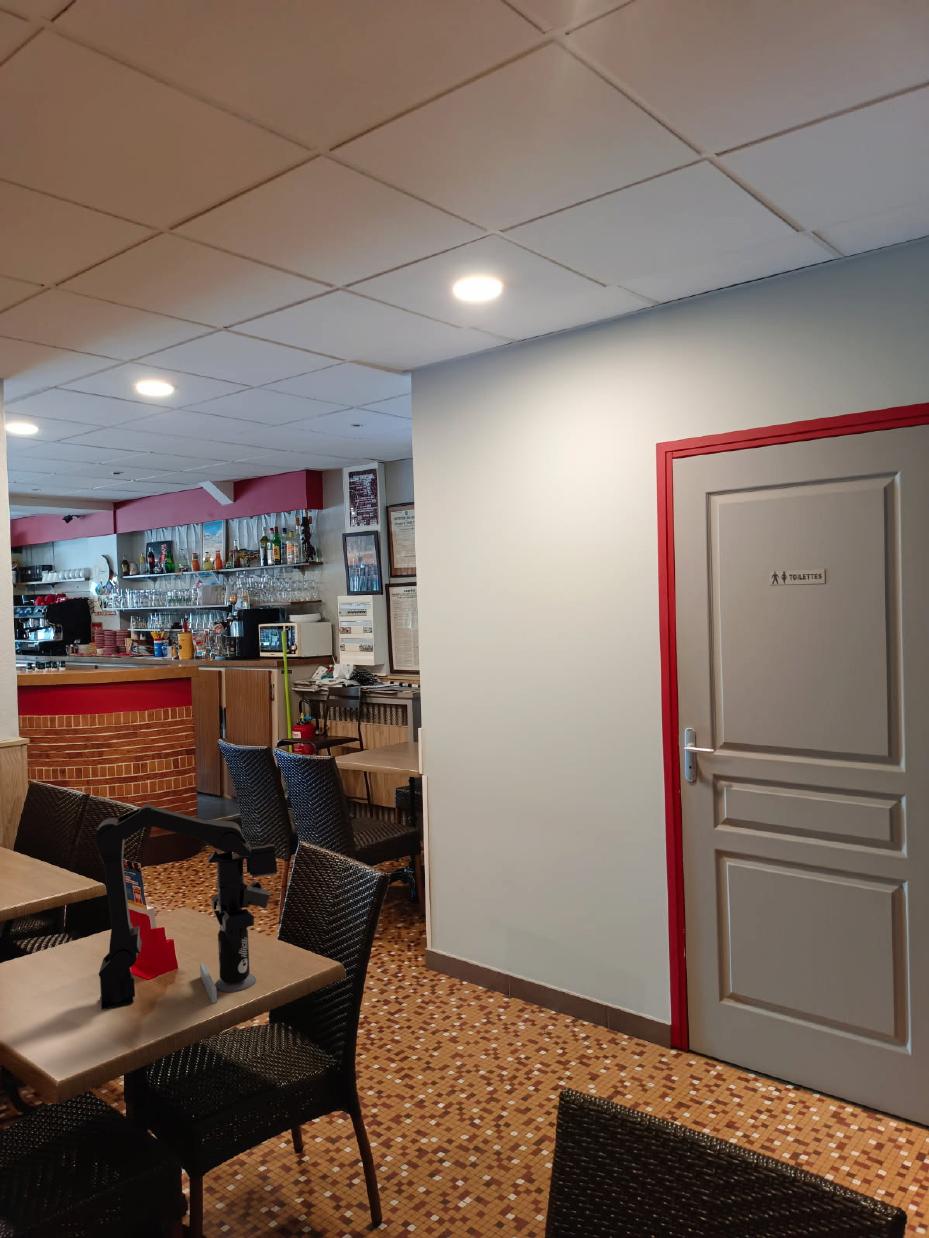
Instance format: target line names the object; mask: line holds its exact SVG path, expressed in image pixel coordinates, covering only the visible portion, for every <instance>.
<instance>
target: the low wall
mask: <svg viewBox="0 0 929 1238" xmlns="http://www.w3.org/2000/svg"><path fill="white" fill-rule="evenodd" d="M199 970H200V972H199V973H200V978H201V981H202V982H203V986H204V985H205V986H204V987H205V990H206V993H207V995H208V997H209V998H210V1001H211V1003H212V1004H217V1003H218V994H217V991H218V990H217V989H216V986H215V982H214V981H213V978H212V976H211V974H210V972H209V970H208V967H207V965H206V964H205V962H203V963H200V964H199Z"/></svg>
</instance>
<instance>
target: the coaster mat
mask: <svg viewBox="0 0 929 1238" xmlns="http://www.w3.org/2000/svg"><path fill="white" fill-rule="evenodd" d="M256 982H257V977H256V976H255V975H254V974H250V973H249V975H248V976H247V978H246V979H245V980H243V981H241V982H237V983H226V982H223V981H222V979H220V978H219V979H218V980H216V981H215V982H214V984H215V986H216V989H217V991H219V992H224V993H234V992H233V991H235V992H240V991H239V990H241V991H243V990H242V989H244V990H247V989H249V988H251V987H252V985H253V986H254V985H255V984H256ZM250 986H251V987H250ZM246 988H247V989H246Z"/></svg>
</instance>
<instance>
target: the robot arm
mask: <svg viewBox="0 0 929 1238" xmlns="http://www.w3.org/2000/svg"><path fill="white" fill-rule="evenodd" d="M147 826H148V827H149V826H150V827H154V828H157V829H161V830H164V831H169V832H172V833H175V834H179V835H183V836H186V837H191V838H195V839H198V840H200V841H202V842H204V843H206V844H207V845H209V846H210V847H212V848H215V849H214V850H213V852H212V853H211V854H210V855H209V856H208V863H209V864H214V863H216V868H217V869H216V871H217V873H216V874H217V875H216V876H217V882H216V884H215V885H216V889H217V891H218V892H217V893H216V894H214V895H213V896H212V898H211V900H210V901H211V908H212V910H213V913H214V915H215V918H216V920H217V922H218V925H219V927H220V926H221V925H222V924H223V925H222V927H223V929H224V931H225V934H226V936H227V938H228V940H229V943H230V945H231V947H232V950H233V952H234V953H239V950H240V946H241V941H242V937H243V933H244V930H245V929H246V928H247V929H248V928H249V927H254V926H255V916H254V915H253V913H252V912H251V911H250V910H249V909H247V908H249V905H250V906H254V907H255V906H256V907H260V908H262V909H267V908H268V904H269V901H270V897H271V893H270V892H269V890H267V889H265V888H264V887H263V888H262V884H261V882H260V881H256V880H254V881H252V882H251V883H250V884H249V885H248V884H246V883H245V880H244V879H245V877H244V875H245V874H244V860H245V869H246V874H249V876H251V877H252V878H256V877H264V876H266V877H267V876H273V875H274V876H275V875H277V874H278V864H277V863H278V862H277V859H276V848H275V847H276V846H275V844H274V843H270V844H269V843H268V844H266V845H260V846H257V845H256V846H251V845H250V842H249V841H247V840H246V838H245V837H243V833H242V829H241V826H240V825H239V824H238V823H237V822H234V821H230V820H219V819H217V820H214V819H213V820H206V819H201V818H198V817H194V816H190V815H186V814H183V813H179V812H175V811H172V810H167V809H164V808H161V807H156V805H155V806H154V805H153V804H150V803H146V804H144V805H141V807H138V808H137V809H134V810H132V811H129V812H127V813H125V814H123V815H120V816H119V817H117V818H115V817H109V818H106V819H105V820H103V821H102V822H101V823H100V824H99V825H98V827H97V830H96V832H95V833H94V834H95V835H94V842H95V846H96V848H97V853H98V855H99V858H100V859H101V862H102V863H103V868H104V873H105V874H104V875H105V882H106V884H105V885H106V892H107V900H108V909H109V920H110V925H111V926H110V927H111V928H110V929H111V930H110V940H109V948H108V949H109V950H108V953H107V954H106V955H105V956H104V957H103V959H102V960H101V964H100V969H99V972H98V976H99V986H100V987H99V988H100V991H99V992H100V997H99V1000H100V1002H99V1003H100V1007H101V1010H107V1009H112V1008H116V1007H121V1006H125V1005H129V1004H133V1003H134V1002H135V1001H134V998H135V997H136V989H135V988H136V987H135V977H134V974H132V970H131V968H132V967H133V966H134V965H135V964H136V962H137V959H138V955H139V954H140V953H141V950H142V948H141V947H142V943H143V942H142V939H141V936H140V925H137V926H133V923H132V922H131V918H130V910H129V900H128V892H127V884H126V875H125V874H126V873H125V865H124V851H125V843H126V841H125V839H128V838H129V837H131V836H133V835H134V834H136V833H138V832H139V831H140V830H142V829H144V828H146V827H147ZM220 851H221V852H220ZM233 853H234V854H233Z"/></svg>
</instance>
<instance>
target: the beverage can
mask: <svg viewBox="0 0 929 1238" xmlns="http://www.w3.org/2000/svg"><path fill="white" fill-rule="evenodd" d="M222 925H223V924H222ZM222 925H221V926H220V925H219V931H218V933H217V942H218V965H219V966H218V967H219V979H222V981H223V982H226V983H237V982H241V981H243V980H245V979H246V978H247V976H248V975H249V974H250V954H249V952H250V951H249V947H250V946H249V931H248V927H247V928H246V929H245V930H244V933H243V937H242V941H241V946H240V950H239V953H234V952H233V950H232V947H231V945H230V943H229V940H228V938H227V936H226V934H225V931H224V929H223V927H222Z"/></svg>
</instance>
